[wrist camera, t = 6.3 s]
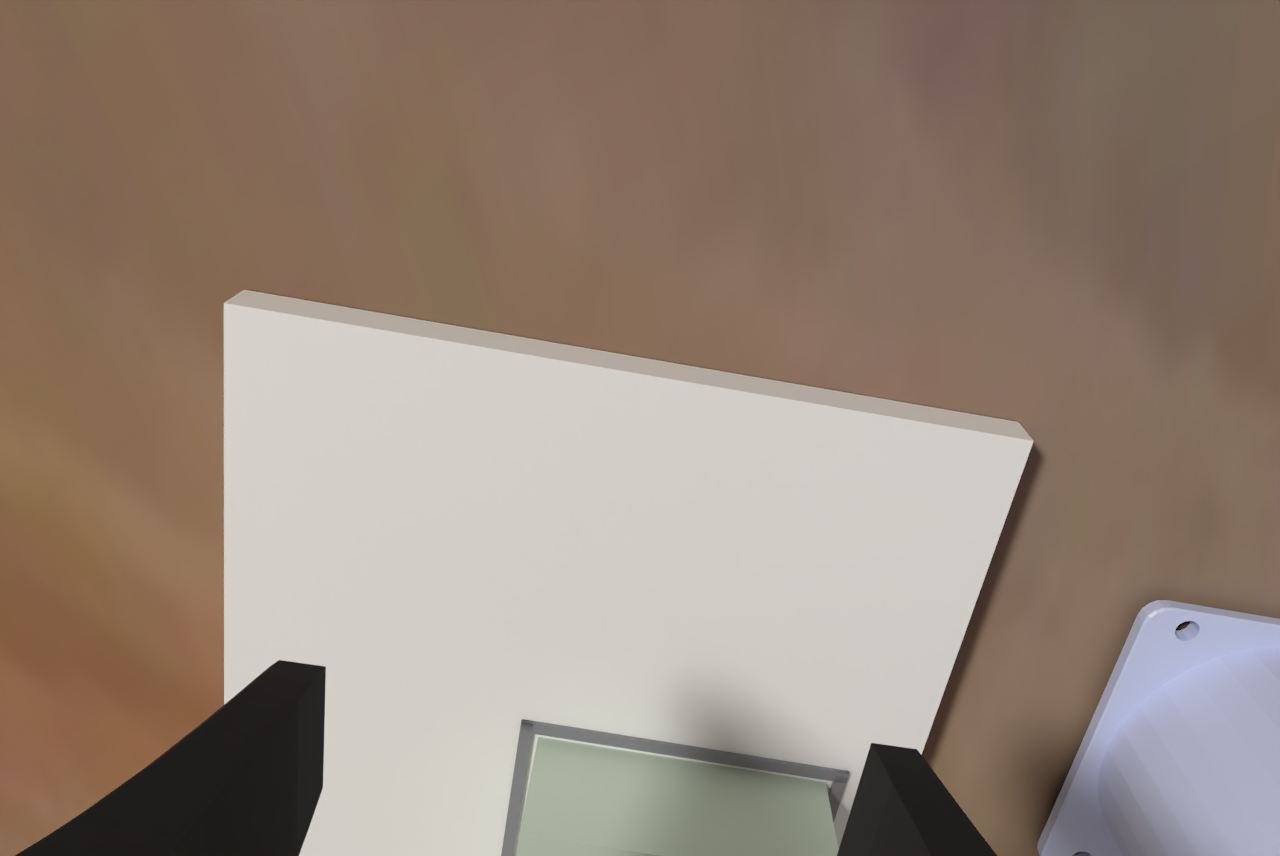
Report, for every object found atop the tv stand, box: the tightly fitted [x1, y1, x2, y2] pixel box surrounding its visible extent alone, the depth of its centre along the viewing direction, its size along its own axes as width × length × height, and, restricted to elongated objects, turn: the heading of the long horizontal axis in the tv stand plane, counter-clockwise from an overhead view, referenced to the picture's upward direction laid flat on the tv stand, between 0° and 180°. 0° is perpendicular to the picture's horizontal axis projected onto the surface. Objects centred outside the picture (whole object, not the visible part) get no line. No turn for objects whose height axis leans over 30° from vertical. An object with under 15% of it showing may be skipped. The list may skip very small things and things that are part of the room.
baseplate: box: [224, 290, 1034, 856], centre depth 24 cm, size 16×17×1 cm
